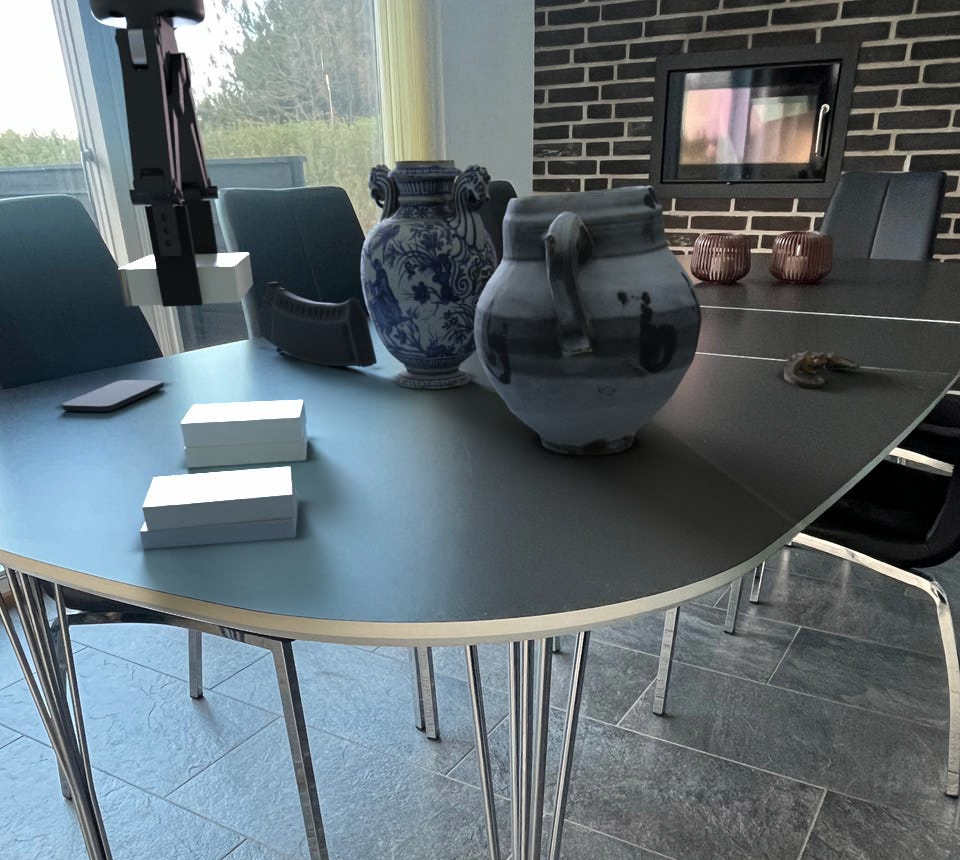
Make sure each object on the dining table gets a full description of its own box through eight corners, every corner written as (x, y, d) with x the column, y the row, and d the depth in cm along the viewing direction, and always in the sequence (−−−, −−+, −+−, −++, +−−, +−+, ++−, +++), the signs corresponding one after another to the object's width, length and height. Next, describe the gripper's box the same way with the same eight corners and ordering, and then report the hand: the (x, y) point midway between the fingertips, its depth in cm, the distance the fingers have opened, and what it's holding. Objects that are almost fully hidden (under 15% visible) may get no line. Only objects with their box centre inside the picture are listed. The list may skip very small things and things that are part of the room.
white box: (144, 555, 69) (133, 507, 67) (161, 519, 77) (152, 475, 75) (298, 543, 71) (292, 496, 69) (300, 509, 78) (295, 465, 76)
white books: (188, 472, 88) (179, 424, 86) (198, 450, 96) (190, 405, 93) (308, 465, 90) (302, 416, 88) (309, 443, 97) (303, 398, 95)
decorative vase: (531, 379, 125) (534, 157, 111) (446, 404, 112) (437, 158, 99) (423, 363, 137) (413, 161, 124) (335, 384, 124) (314, 162, 111)
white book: (125, 306, 63) (117, 268, 61) (155, 287, 73) (149, 255, 72) (239, 302, 64) (234, 265, 62) (253, 284, 74) (249, 252, 73)
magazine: (382, 311, 125) (276, 237, 140) (364, 313, 123) (258, 239, 139) (372, 418, 136) (275, 339, 152) (355, 421, 135) (258, 342, 150)
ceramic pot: (676, 497, 79) (704, 188, 67) (439, 480, 85) (426, 193, 73) (698, 419, 103) (721, 182, 91) (512, 410, 109) (512, 186, 97)
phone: (57, 405, 113) (119, 379, 125) (58, 411, 113) (121, 385, 126) (108, 406, 111) (166, 380, 124) (110, 413, 112) (167, 386, 125)
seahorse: (754, 379, 121) (757, 357, 120) (814, 362, 131) (817, 341, 129) (814, 390, 115) (818, 366, 114) (872, 371, 125) (877, 349, 123)
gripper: (165, -97, 48) (226, 314, 58) (217, -14, 69) (256, 277, 79) (23, -99, 47) (111, 318, 57) (120, -14, 68) (172, 280, 79)
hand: (195, 295), depth 68 cm, fingers closed on white book, 12 cm apart
